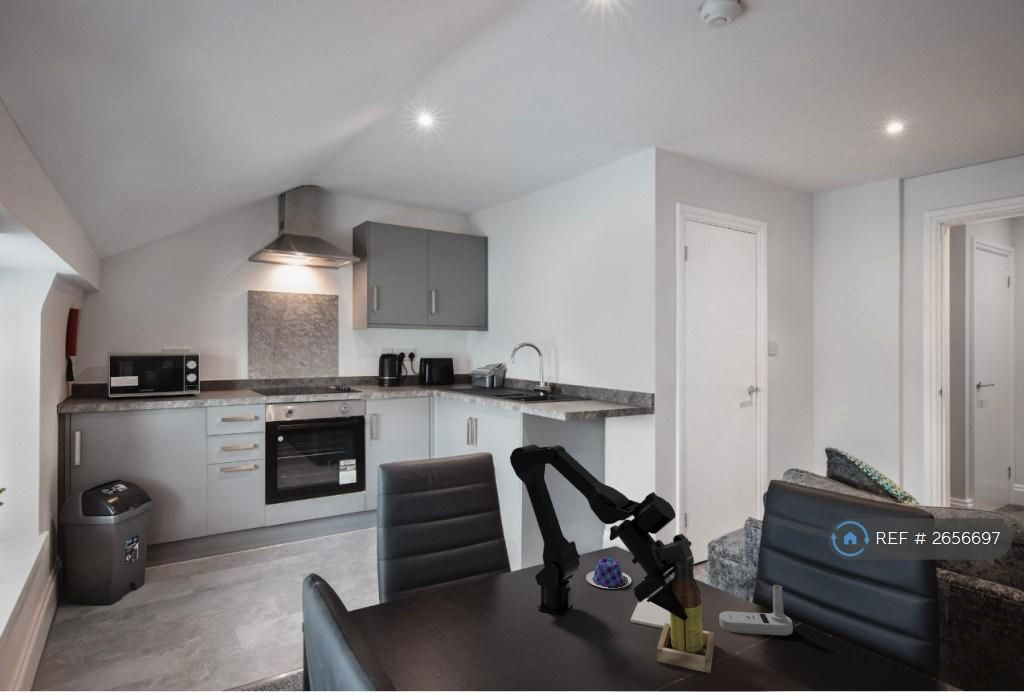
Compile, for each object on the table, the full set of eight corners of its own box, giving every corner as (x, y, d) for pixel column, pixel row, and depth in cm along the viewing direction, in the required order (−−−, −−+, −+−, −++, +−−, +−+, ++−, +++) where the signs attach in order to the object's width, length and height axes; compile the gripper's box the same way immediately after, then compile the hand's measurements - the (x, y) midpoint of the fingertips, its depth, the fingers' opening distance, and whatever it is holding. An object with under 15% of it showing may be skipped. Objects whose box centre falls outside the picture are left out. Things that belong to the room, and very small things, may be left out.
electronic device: (716, 579, 126) (786, 582, 123) (717, 621, 126) (788, 625, 123) (720, 589, 121) (794, 592, 118) (722, 634, 121) (796, 638, 118)
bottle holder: (656, 661, 109) (656, 648, 109) (665, 634, 119) (665, 623, 119) (710, 673, 105) (710, 660, 105) (714, 644, 115) (714, 632, 115)
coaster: (630, 622, 125) (630, 619, 125) (640, 599, 136) (640, 597, 136) (685, 632, 120) (685, 630, 120) (691, 608, 131) (691, 606, 131)
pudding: (585, 571, 154) (585, 552, 154) (629, 573, 152) (629, 554, 152) (586, 590, 142) (586, 569, 142) (633, 592, 140) (633, 571, 140)
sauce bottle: (704, 648, 114) (704, 552, 114) (701, 664, 108) (701, 563, 108) (672, 641, 116) (671, 547, 116) (667, 656, 111) (666, 558, 111)
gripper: (647, 536, 107) (704, 610, 100) (684, 513, 122) (736, 576, 115) (611, 567, 112) (663, 639, 105) (651, 541, 127) (698, 603, 120)
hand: (692, 612), depth 111 cm, fingers open, 7 cm apart
